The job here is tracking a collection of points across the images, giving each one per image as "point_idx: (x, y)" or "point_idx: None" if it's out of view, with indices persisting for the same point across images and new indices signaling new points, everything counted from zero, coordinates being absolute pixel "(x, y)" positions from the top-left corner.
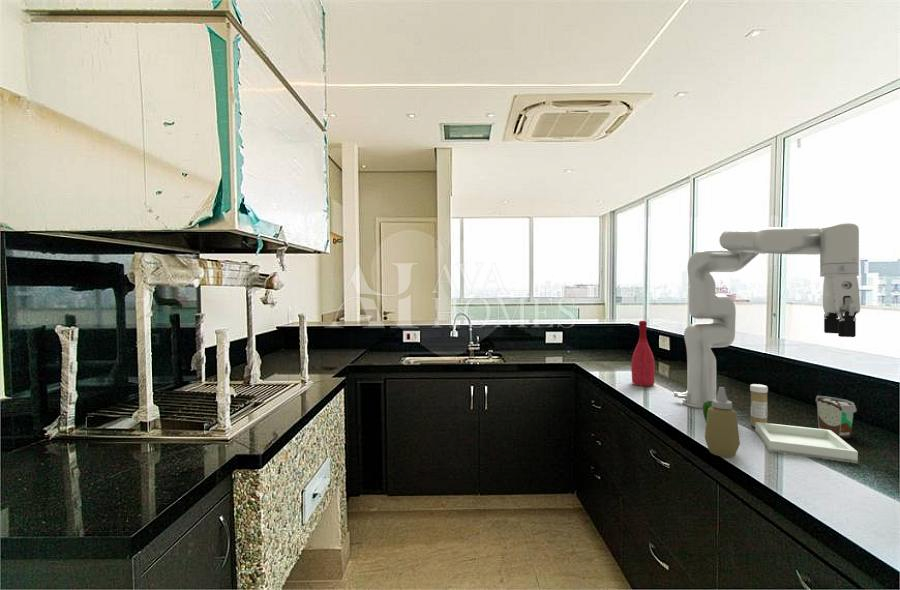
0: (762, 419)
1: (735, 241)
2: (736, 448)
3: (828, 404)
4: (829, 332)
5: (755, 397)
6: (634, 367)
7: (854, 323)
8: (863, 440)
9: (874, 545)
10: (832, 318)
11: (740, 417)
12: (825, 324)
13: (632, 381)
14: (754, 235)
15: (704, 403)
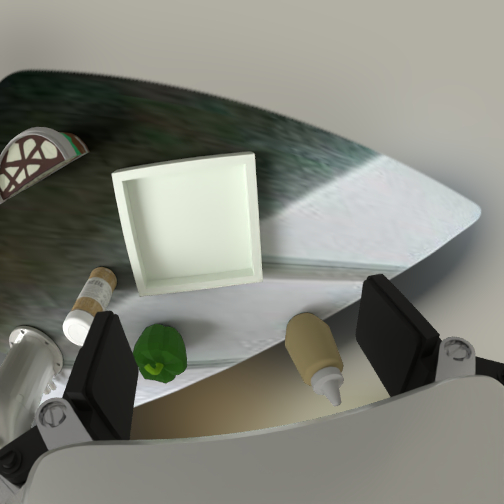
0: (110, 284)
1: None
2: (320, 319)
3: (32, 180)
4: (131, 356)
5: None
6: None
7: (429, 329)
8: (84, 114)
9: (471, 213)
10: (103, 428)
11: (64, 302)
12: (129, 413)
13: None
14: None
15: (167, 382)
